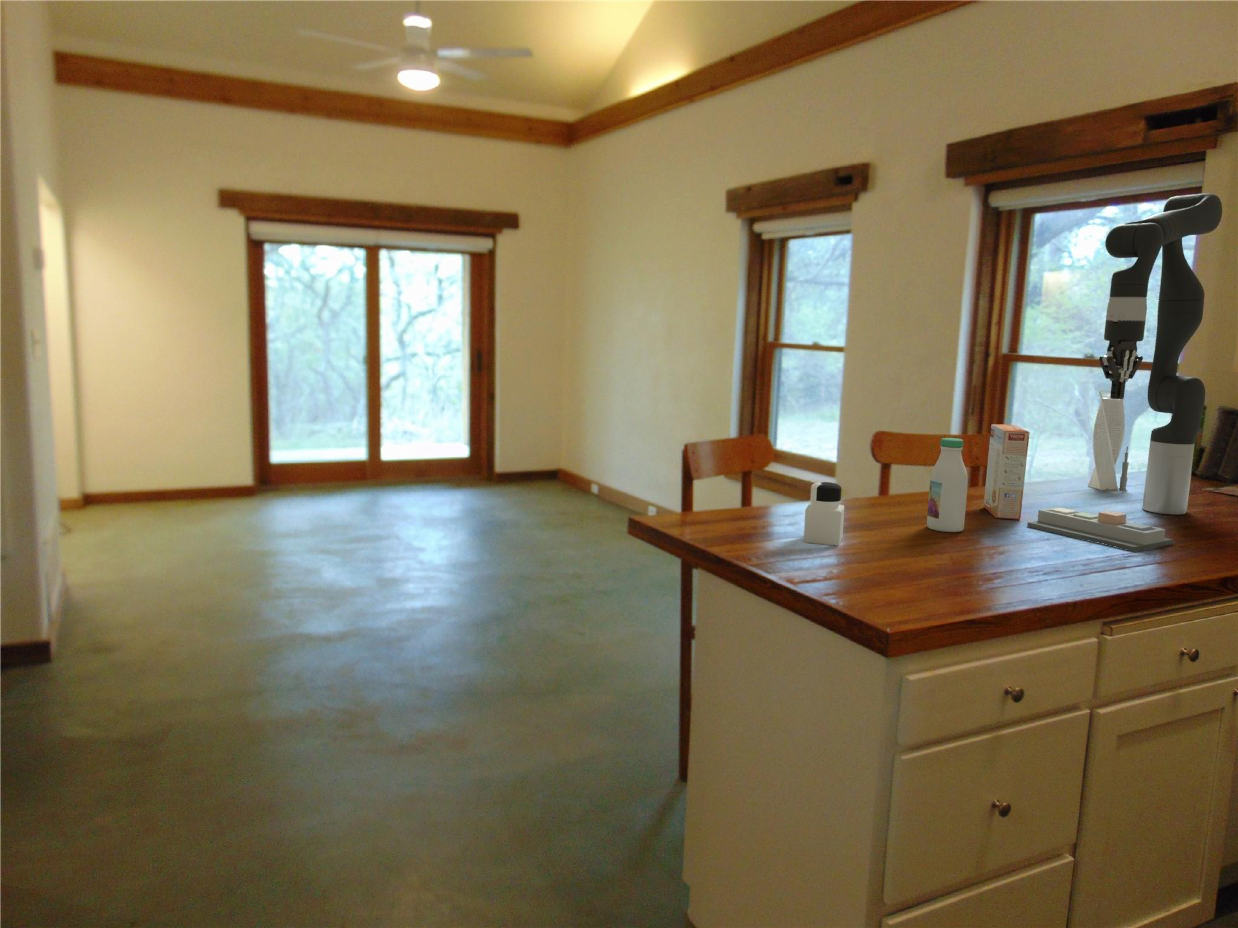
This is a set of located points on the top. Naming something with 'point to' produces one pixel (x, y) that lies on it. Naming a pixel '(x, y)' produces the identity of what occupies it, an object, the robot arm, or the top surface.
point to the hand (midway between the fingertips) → (1116, 398)
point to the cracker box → (1006, 471)
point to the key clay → (1112, 517)
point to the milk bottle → (948, 489)
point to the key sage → (1086, 516)
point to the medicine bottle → (824, 515)
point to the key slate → (1138, 526)
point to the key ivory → (1063, 511)
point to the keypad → (1100, 531)
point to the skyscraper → (1108, 445)
